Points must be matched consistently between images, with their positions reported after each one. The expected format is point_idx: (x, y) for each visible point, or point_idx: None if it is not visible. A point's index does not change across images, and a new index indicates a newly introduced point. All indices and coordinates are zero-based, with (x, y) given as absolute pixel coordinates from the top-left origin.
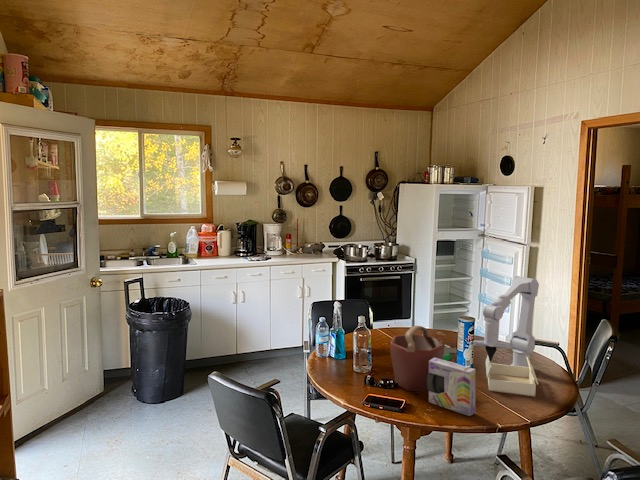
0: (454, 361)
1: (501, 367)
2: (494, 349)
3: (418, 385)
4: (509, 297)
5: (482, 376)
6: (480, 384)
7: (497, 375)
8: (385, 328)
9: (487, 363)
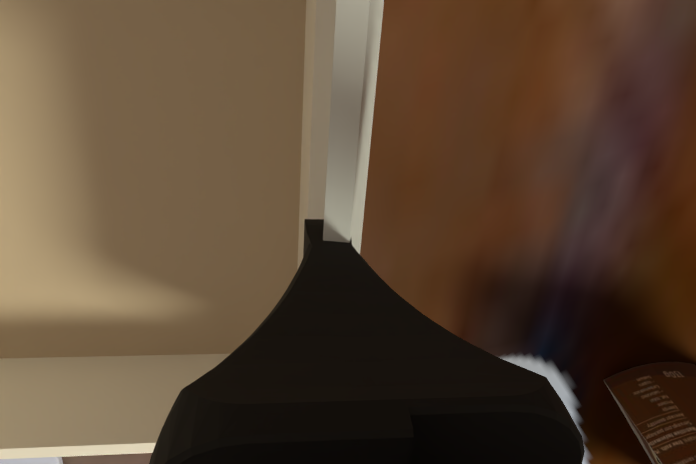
0: (642, 426)
1: (148, 414)
2: (234, 449)
3: None
4: None
5: None
6: (418, 18)
7: (201, 315)
8: None
9: None
